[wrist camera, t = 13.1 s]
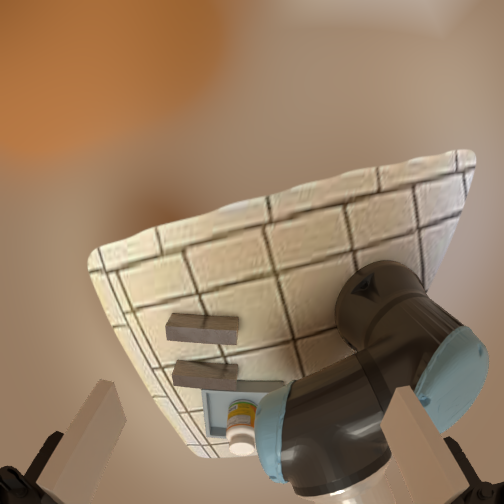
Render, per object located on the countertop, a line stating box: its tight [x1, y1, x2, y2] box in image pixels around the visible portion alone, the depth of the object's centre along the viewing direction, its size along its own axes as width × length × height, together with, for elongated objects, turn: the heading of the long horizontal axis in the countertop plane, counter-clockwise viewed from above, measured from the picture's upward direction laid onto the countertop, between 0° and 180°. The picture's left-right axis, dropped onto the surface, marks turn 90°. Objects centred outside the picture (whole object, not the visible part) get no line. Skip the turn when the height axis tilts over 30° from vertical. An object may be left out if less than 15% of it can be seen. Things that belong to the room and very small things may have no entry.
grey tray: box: [201, 380, 283, 439], centre depth 45 cm, size 13×13×3 cm
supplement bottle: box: [226, 400, 257, 455], centre depth 41 cm, size 5×5×10 cm
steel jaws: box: [165, 313, 238, 391], centre depth 41 cm, size 10×11×4 cm
